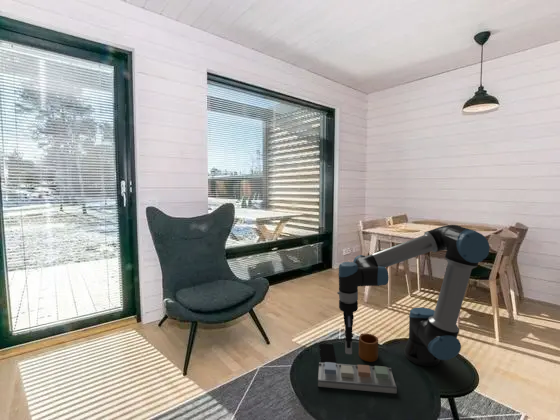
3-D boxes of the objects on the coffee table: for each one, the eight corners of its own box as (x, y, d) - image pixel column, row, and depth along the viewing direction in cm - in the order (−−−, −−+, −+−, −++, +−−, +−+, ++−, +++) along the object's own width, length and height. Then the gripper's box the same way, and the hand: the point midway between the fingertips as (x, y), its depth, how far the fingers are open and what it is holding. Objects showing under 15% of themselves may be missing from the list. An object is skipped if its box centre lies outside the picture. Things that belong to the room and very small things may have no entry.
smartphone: (320, 362, 141) (318, 343, 156) (320, 364, 141) (318, 345, 156) (336, 362, 140) (333, 343, 155) (336, 364, 141) (333, 345, 155)
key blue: (335, 367, 133) (335, 362, 132) (336, 374, 128) (336, 370, 128) (324, 366, 134) (324, 361, 133) (324, 373, 129) (324, 369, 129)
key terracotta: (369, 369, 130) (369, 365, 130) (370, 377, 126) (370, 372, 125) (357, 368, 131) (357, 364, 131) (358, 376, 127) (358, 371, 126)
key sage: (386, 370, 129) (386, 366, 129) (388, 378, 125) (388, 374, 124) (374, 370, 130) (374, 365, 130) (376, 377, 125) (376, 373, 125)
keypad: (390, 373, 133) (390, 367, 132) (396, 393, 121) (396, 387, 121) (319, 367, 138) (319, 361, 138) (318, 386, 126) (317, 380, 126)
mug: (371, 346, 153) (372, 329, 152) (380, 361, 141) (381, 343, 140) (354, 346, 153) (354, 330, 151) (361, 362, 141) (362, 344, 140)
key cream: (352, 370, 132) (352, 366, 131) (353, 377, 127) (353, 373, 127) (341, 369, 133) (341, 365, 132) (341, 376, 128) (341, 372, 128)
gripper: (338, 293, 132) (339, 343, 135) (339, 306, 119) (339, 362, 123) (356, 293, 131) (356, 344, 134) (359, 307, 118) (359, 363, 121)
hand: (348, 352), depth 128 cm, fingers closed
